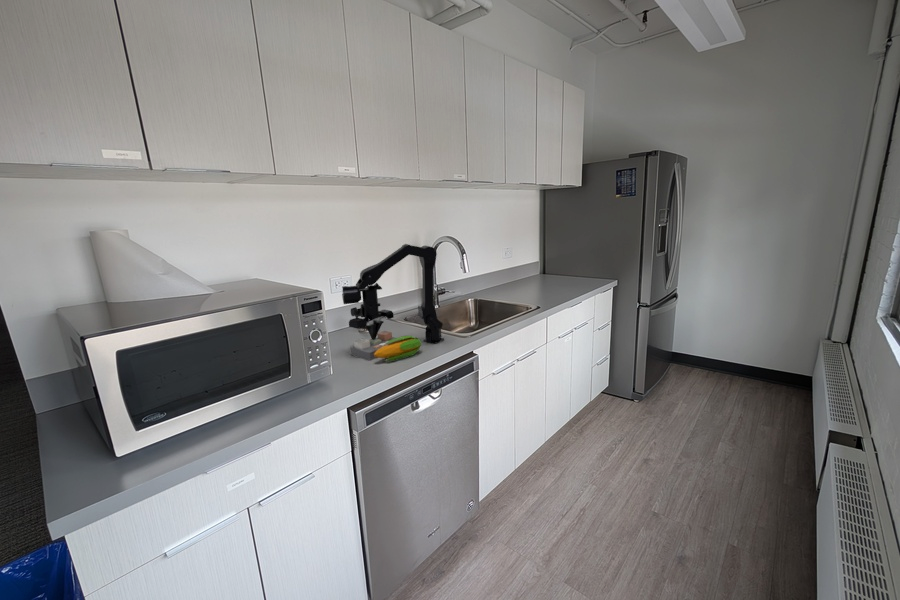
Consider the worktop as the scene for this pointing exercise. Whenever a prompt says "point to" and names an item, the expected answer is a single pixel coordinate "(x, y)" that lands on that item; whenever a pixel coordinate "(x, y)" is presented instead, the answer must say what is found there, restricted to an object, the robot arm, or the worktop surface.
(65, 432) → the worktop surface
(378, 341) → the key sage
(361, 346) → the key offwhite
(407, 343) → the corn
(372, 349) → the keypad
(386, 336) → the key terracotta
